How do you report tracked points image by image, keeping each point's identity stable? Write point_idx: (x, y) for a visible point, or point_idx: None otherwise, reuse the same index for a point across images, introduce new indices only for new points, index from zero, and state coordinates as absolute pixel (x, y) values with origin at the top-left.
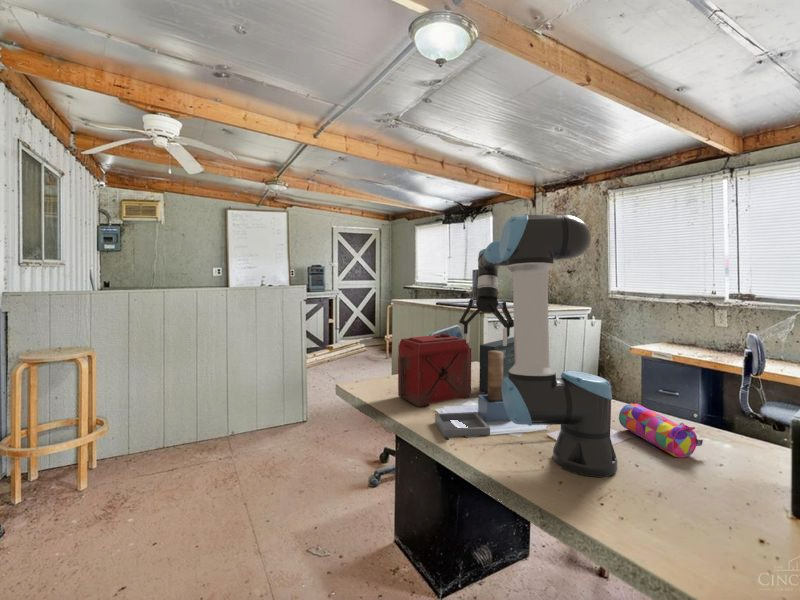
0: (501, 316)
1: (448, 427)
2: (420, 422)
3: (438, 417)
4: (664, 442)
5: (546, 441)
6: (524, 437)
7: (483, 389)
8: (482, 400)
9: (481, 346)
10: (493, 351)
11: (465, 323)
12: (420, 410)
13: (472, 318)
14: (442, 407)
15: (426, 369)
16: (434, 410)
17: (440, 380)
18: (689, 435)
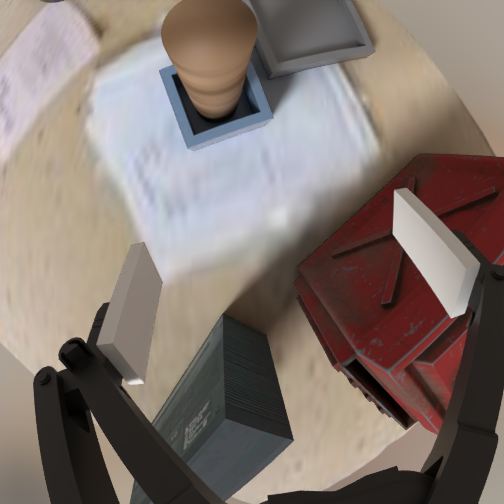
0: (129, 450)
1: (330, 13)
2: (395, 58)
3: (362, 28)
4: None
5: (110, 10)
6: (152, 12)
7: (255, 333)
8: (257, 78)
9: (285, 433)
10: (223, 38)
11: (500, 267)
12: (411, 136)
13: (481, 326)
14: (364, 167)
15: (468, 187)
16: (381, 140)
17: None
18: None
